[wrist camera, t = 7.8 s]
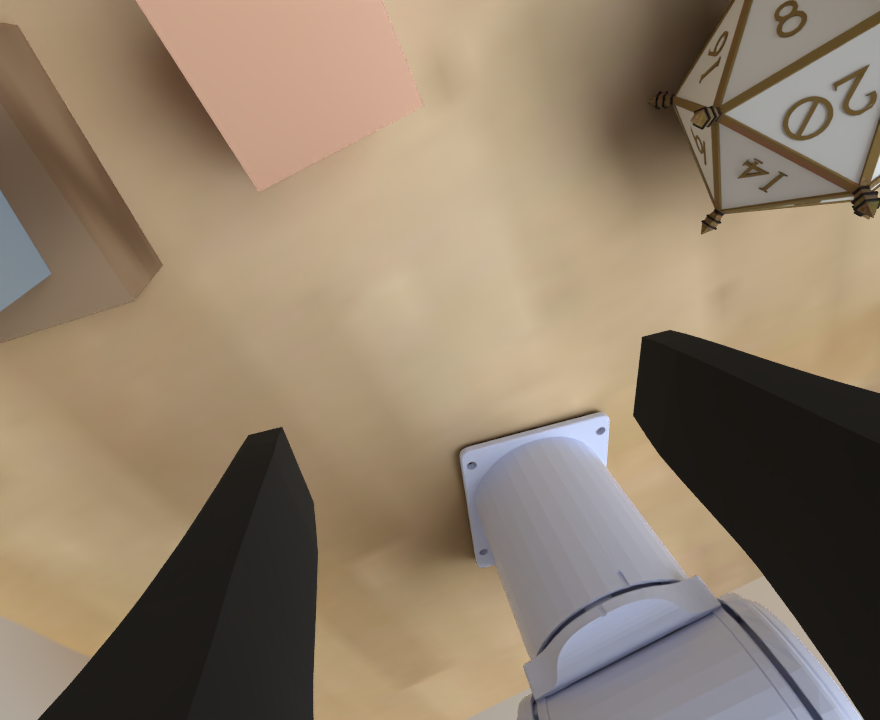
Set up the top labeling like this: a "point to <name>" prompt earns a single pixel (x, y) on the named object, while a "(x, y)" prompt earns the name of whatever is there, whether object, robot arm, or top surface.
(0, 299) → the slate block
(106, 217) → the walnut base
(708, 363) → the robot arm
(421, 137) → the top surface
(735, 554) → the top surface
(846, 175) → the game die
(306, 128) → the terracotta block
